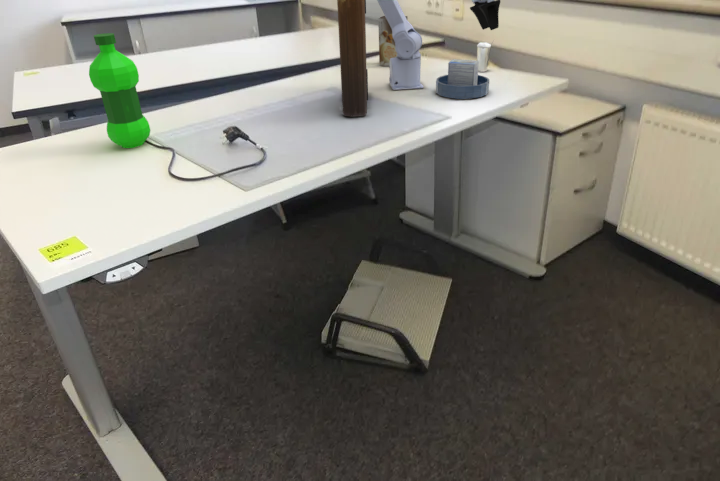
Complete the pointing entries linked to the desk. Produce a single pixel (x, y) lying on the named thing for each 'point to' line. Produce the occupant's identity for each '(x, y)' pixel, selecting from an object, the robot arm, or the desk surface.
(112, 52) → the plastic bottle
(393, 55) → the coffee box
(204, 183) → the desk surface
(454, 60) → the medicine box
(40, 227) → the desk surface
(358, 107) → the dark brown tall slab
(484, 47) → the milkshake
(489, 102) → the desk surface
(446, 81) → the bowl
